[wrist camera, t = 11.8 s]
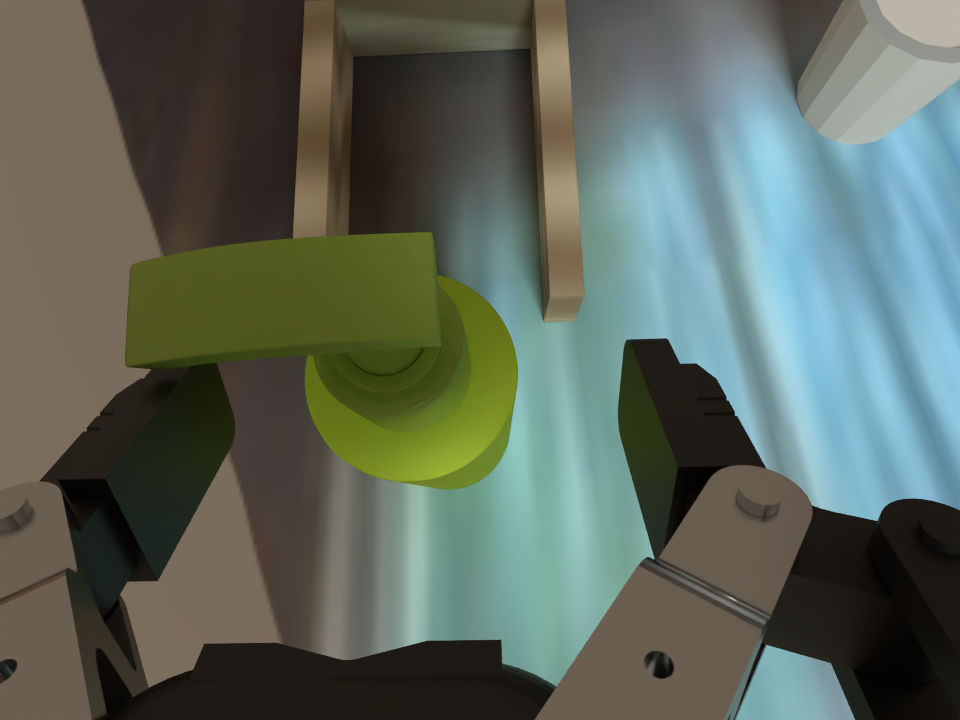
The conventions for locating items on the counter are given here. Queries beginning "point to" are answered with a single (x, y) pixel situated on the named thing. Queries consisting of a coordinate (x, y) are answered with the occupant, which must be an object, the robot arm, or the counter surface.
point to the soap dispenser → (345, 344)
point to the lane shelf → (439, 29)
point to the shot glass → (879, 66)
